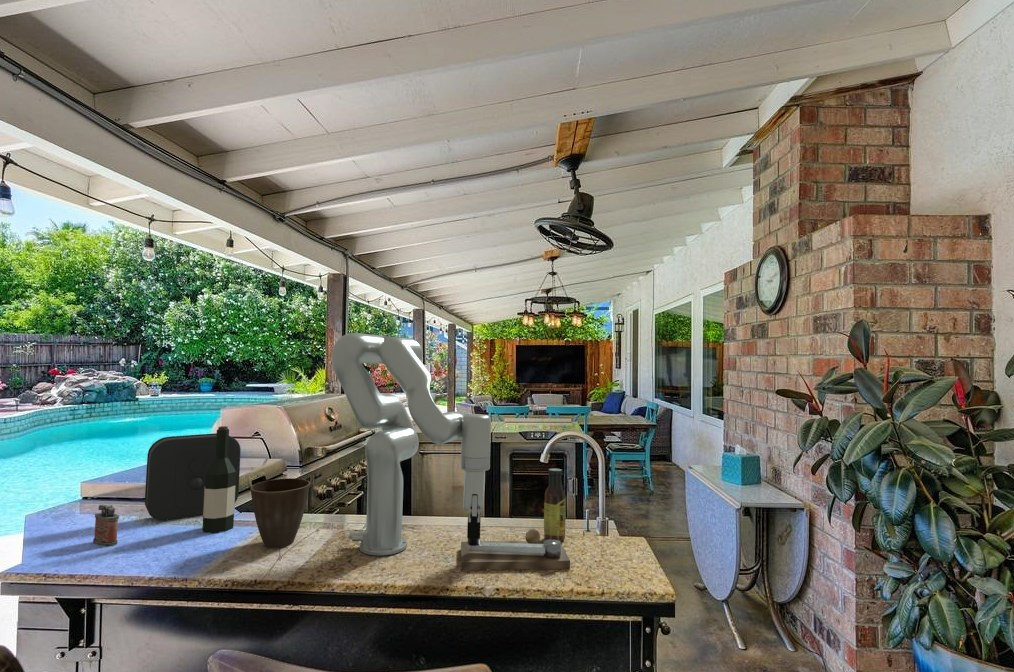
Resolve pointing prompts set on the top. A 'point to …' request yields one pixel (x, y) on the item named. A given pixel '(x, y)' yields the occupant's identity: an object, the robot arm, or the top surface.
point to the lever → (517, 547)
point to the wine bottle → (219, 488)
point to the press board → (512, 557)
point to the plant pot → (279, 509)
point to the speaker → (182, 474)
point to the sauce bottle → (554, 507)
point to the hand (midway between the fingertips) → (473, 534)
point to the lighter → (106, 526)
